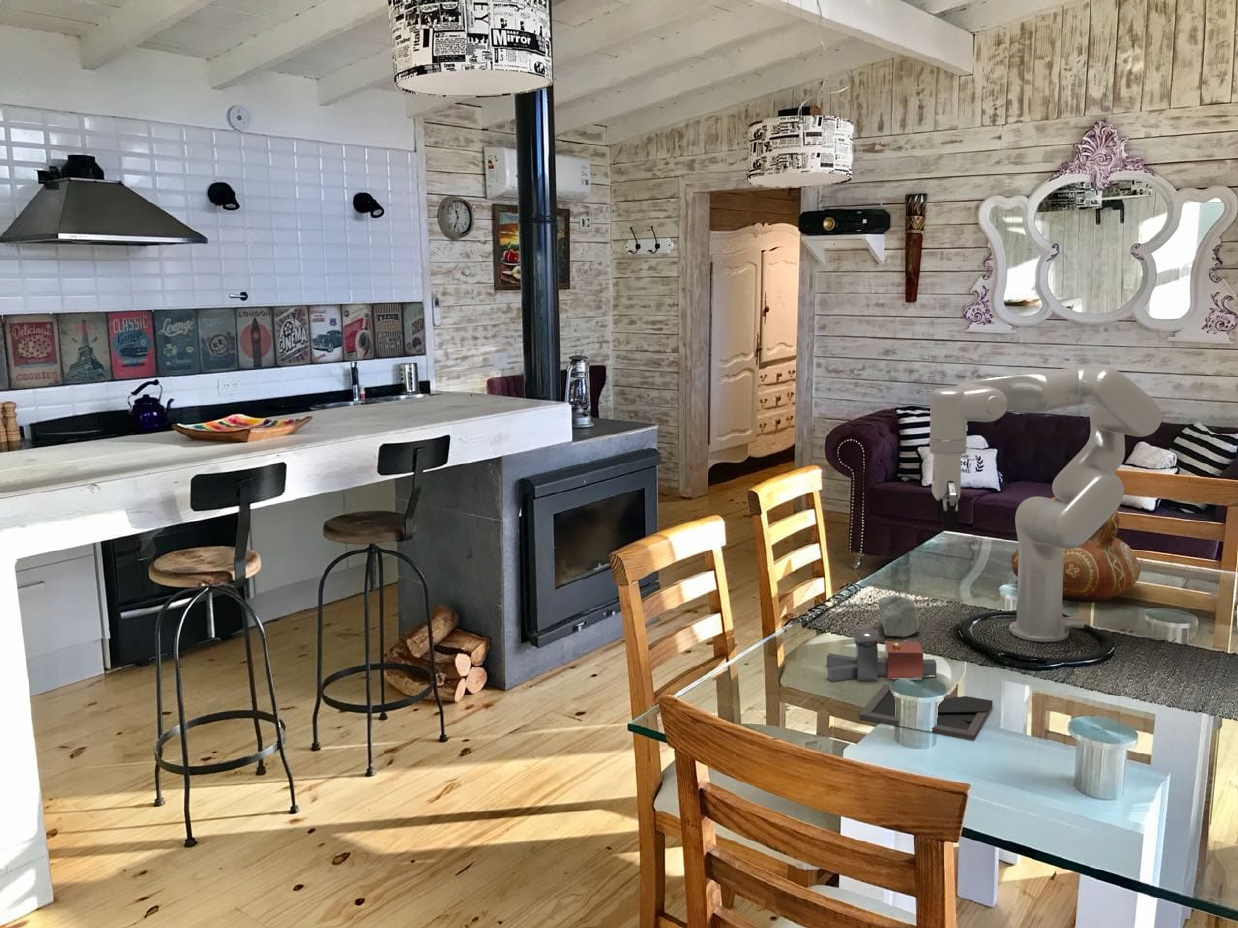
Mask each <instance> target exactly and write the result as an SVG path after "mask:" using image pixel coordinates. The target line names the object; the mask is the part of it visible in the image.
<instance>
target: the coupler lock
mask: <svg viewBox="0 0 1238 928" xmlns="http://www.w3.org/2000/svg"><path fill="white" fill-rule="evenodd" d="M884 643H885V644H884V645H885V646H884V650H885V651H884V652H885V653H884V654H885V655H884V656H885V657H884V658H886V659H887V676H886V679H887V680H888V681H891V680H890V679H892V678H914V677H923V659H924V652H923V648H922V645H921V643H920V641H892V640H891V641H889V640H888V641H885V642H884ZM923 678H924V677H923Z"/></svg>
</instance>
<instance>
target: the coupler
mask: <svg viewBox="0 0 1238 928" xmlns="http://www.w3.org/2000/svg"><path fill="white" fill-rule="evenodd" d="M853 632H854V633H853V636H854V637H853V638H854V640H853V642H854V643H855V656H850V655H849V656H848V655H844V654H837V653H830V652H829V653H828V654H827V655H826V667H827V679H828V680H829V681H830V683H831V682H838V681H846V680H854V679H857V681H862V682H863V681H864V682H878V681H879V680H878V678H879V677H887V659H886V658H885V657H882V658H881V657H878V653H879V652H878V651H879V650H878V649H879V648H878V644H880V632H879V631H878V630H876V629H873V628H859V629H855V630H854V631H853ZM929 675H935V676H936V677H937V661H936V659H930V658H923V676H929Z"/></svg>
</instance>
